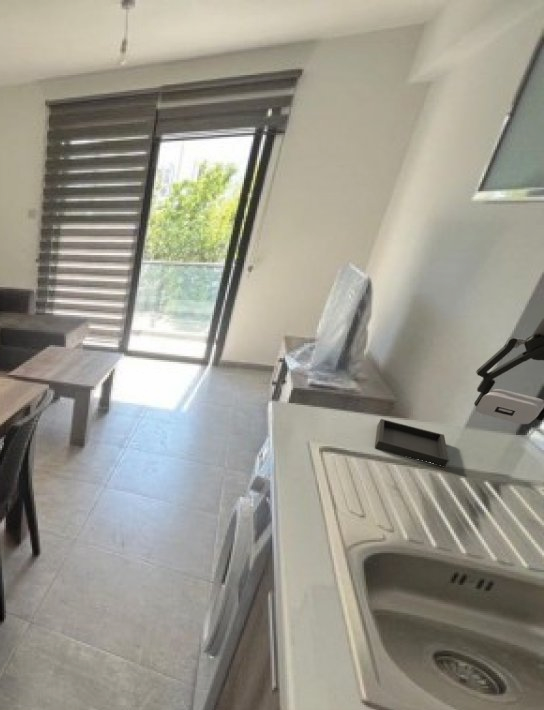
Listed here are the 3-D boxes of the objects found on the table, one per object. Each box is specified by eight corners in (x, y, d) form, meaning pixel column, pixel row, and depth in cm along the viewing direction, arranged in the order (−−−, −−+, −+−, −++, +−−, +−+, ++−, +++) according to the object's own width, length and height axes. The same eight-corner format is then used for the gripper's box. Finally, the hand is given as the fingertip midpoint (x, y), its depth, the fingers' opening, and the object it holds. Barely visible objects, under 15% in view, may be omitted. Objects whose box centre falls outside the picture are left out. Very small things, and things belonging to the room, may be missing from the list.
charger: (541, 414, 117) (527, 426, 109) (489, 401, 124) (473, 411, 116) (553, 396, 115) (541, 406, 107) (500, 384, 121) (484, 393, 114)
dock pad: (439, 441, 125) (444, 434, 125) (444, 467, 113) (448, 460, 112) (377, 425, 133) (380, 418, 132) (374, 448, 120) (378, 441, 119)
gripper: (642, 328, 102) (571, 422, 113) (495, 308, 115) (444, 394, 125) (655, 333, 97) (579, 431, 108) (500, 312, 110) (445, 401, 120)
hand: (506, 411), depth 117 cm, fingers closed on charger, 10 cm apart
